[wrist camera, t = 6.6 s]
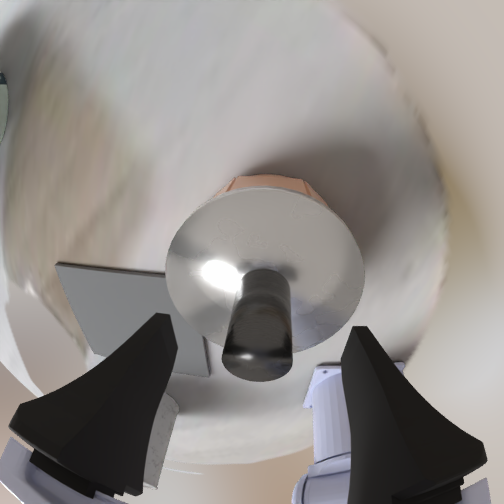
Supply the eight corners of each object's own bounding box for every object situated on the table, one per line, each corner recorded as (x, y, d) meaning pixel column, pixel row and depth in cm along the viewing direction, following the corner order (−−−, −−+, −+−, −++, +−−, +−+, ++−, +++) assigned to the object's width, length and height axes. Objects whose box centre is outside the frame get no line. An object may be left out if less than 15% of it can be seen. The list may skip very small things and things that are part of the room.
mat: (195, 277, 19) (193, 280, 19) (210, 374, 25) (209, 377, 25) (56, 263, 20) (54, 265, 20) (95, 351, 26) (94, 353, 26)
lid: (386, 208, 11) (439, 269, 7) (327, 353, 16) (335, 423, 12) (170, 172, 11) (108, 216, 7) (174, 330, 16) (148, 397, 12)
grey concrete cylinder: (134, 370, 27) (97, 460, 16) (193, 410, 30) (173, 493, 19) (103, 384, 30) (71, 453, 20) (154, 418, 33) (133, 484, 23)
